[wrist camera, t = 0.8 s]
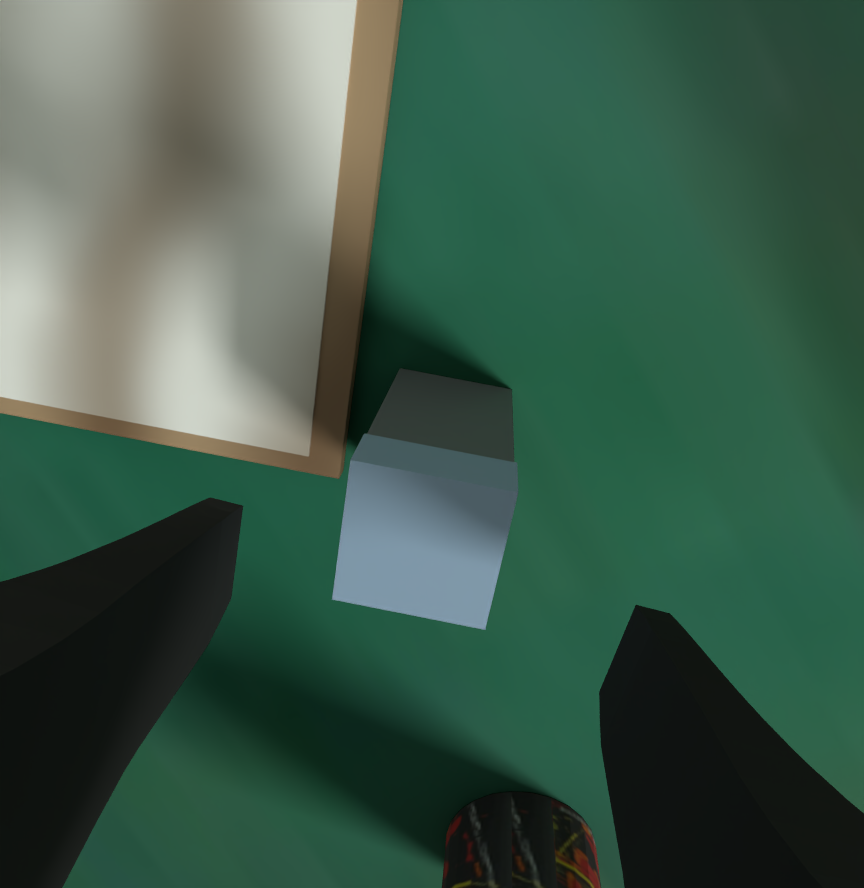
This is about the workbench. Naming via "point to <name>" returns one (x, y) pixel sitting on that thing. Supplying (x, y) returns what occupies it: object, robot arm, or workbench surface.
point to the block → (430, 501)
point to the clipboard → (191, 217)
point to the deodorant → (519, 845)
